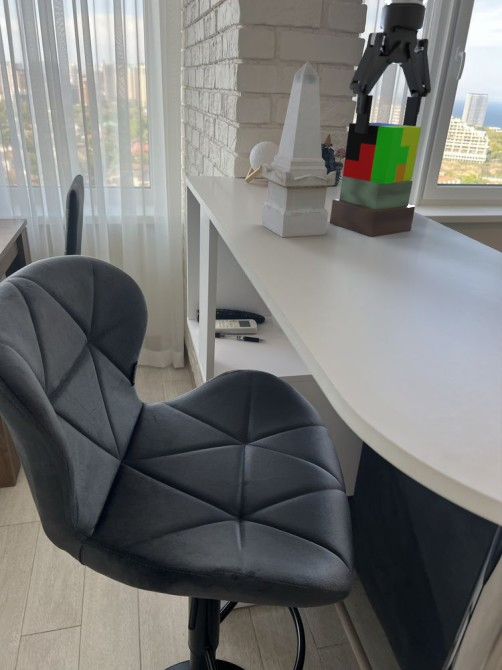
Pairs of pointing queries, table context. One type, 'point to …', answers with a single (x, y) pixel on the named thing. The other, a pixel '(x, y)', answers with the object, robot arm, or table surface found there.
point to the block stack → (373, 207)
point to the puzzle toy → (381, 153)
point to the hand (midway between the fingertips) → (385, 132)
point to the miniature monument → (299, 166)
